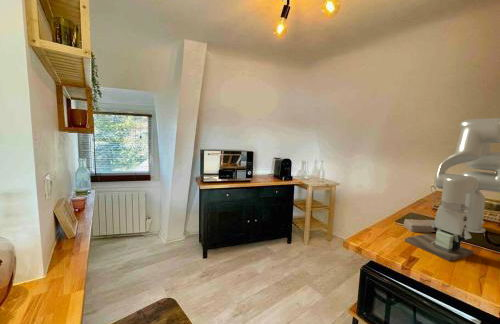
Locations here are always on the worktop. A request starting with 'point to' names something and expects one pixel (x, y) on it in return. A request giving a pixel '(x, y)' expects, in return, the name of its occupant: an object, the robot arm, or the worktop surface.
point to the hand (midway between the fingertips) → (447, 246)
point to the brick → (418, 225)
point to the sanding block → (445, 241)
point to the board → (428, 245)
